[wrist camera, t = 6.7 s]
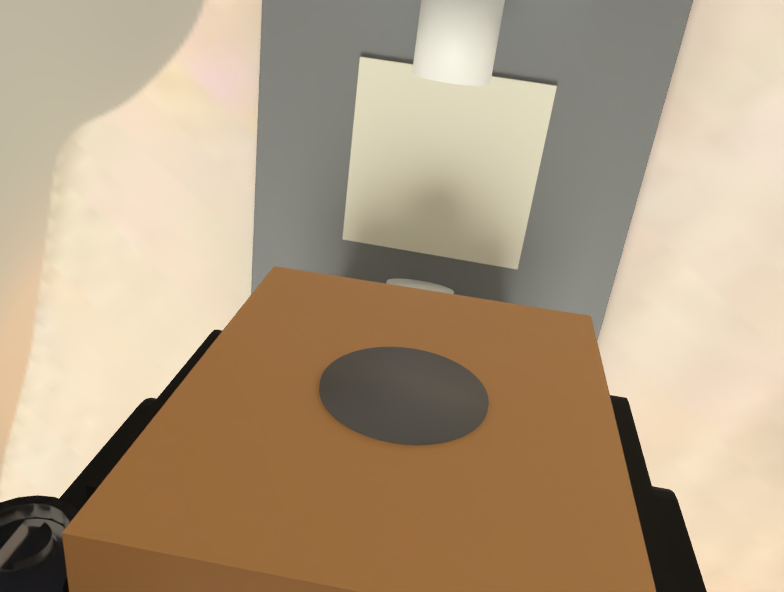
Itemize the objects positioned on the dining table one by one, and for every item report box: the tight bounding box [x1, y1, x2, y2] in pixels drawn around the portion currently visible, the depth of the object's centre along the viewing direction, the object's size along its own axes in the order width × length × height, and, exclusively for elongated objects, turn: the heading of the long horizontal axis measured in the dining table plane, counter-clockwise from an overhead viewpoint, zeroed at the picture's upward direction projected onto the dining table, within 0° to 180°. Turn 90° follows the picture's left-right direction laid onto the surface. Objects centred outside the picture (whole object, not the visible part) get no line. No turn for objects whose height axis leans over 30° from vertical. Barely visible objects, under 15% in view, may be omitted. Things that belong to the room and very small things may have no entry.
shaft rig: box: [251, 0, 693, 339], centre depth 24 cm, size 25×14×8 cm, turn 173°
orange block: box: [62, 266, 656, 592], centre depth 10 cm, size 5×5×6 cm
